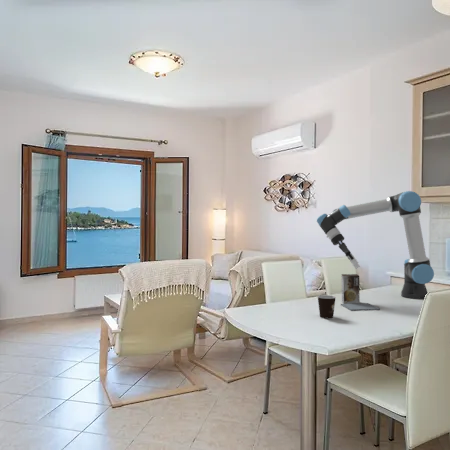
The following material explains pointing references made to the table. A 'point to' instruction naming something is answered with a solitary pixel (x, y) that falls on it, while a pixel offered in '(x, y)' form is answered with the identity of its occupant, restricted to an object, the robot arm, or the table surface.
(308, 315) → the table surface
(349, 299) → the coffee box
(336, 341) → the table surface
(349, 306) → the mat
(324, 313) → the coffee mug
